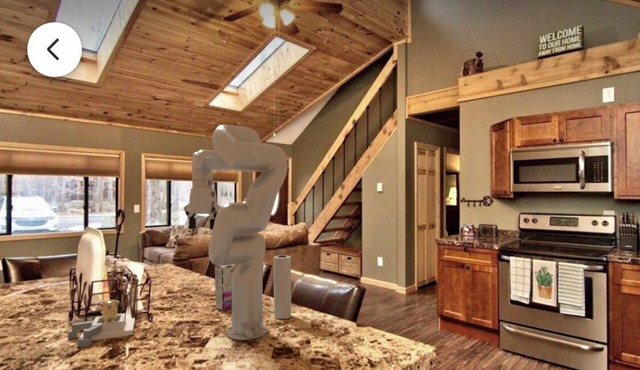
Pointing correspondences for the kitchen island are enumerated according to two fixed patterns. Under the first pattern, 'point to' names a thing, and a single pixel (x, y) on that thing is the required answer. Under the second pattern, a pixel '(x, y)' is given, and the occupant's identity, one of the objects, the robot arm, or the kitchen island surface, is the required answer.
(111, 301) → the gold rounded cylinder
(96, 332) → the shaft stand
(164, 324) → the kitchen island surface
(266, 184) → the robot arm
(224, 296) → the candy bar box
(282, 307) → the paper towel roll
